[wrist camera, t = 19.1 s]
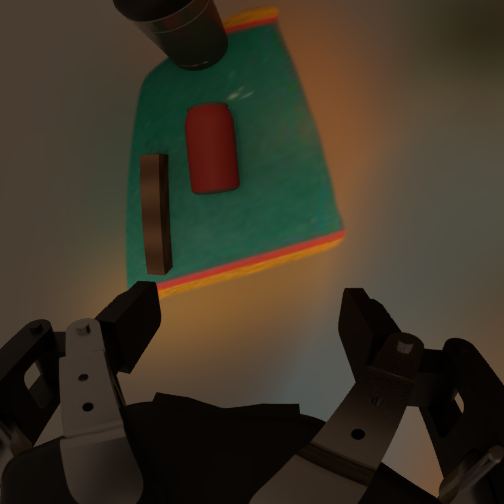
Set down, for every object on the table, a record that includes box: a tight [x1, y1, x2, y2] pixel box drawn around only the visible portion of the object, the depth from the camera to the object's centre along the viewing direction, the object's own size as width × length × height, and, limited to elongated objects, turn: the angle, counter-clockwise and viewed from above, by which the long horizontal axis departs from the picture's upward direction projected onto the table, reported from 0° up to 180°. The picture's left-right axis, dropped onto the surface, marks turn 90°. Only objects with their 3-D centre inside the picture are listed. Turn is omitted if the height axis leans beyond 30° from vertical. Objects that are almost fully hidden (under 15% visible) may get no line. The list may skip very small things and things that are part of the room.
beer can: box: [185, 102, 240, 195], centre depth 35 cm, size 7×7×12 cm
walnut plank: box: [140, 154, 173, 275], centre depth 40 cm, size 18×3×4 cm, turn 179°
